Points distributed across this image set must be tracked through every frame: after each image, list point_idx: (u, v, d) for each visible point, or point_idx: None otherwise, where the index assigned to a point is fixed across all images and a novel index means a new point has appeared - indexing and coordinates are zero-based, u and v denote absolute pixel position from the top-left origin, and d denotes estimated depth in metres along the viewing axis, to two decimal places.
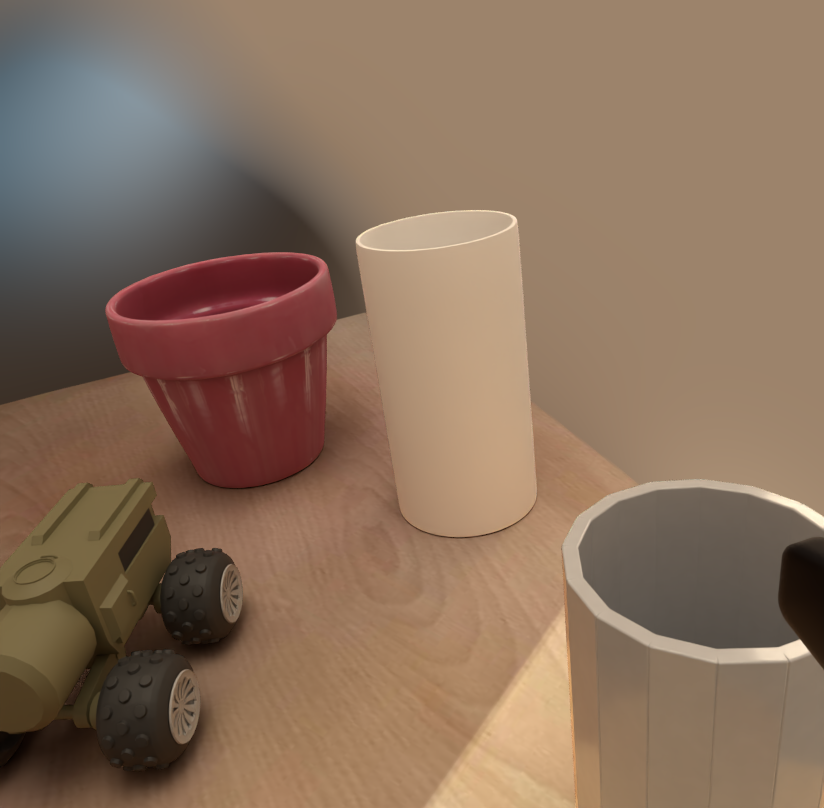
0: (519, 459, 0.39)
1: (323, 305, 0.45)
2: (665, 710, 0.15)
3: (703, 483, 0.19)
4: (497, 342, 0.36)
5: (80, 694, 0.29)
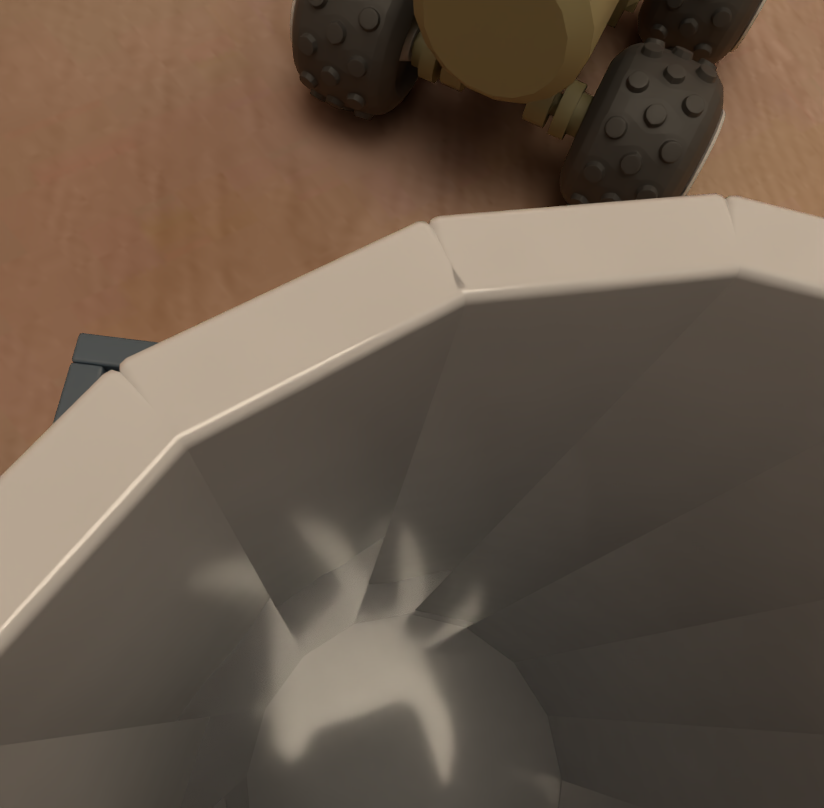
0: None
1: None
2: None
3: (752, 241, 0.03)
4: None
5: None
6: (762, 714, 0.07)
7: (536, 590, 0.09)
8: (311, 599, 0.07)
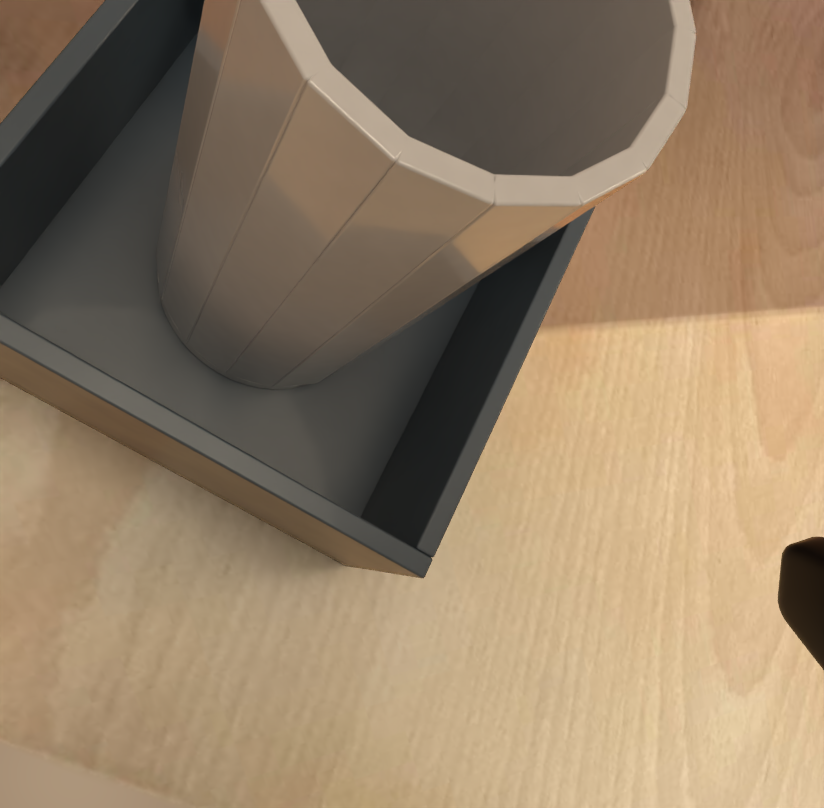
0: None
1: None
2: (294, 168, 0.09)
3: None
4: None
5: None
6: (504, 166, 0.14)
7: (421, 129, 0.17)
8: (326, 20, 0.14)
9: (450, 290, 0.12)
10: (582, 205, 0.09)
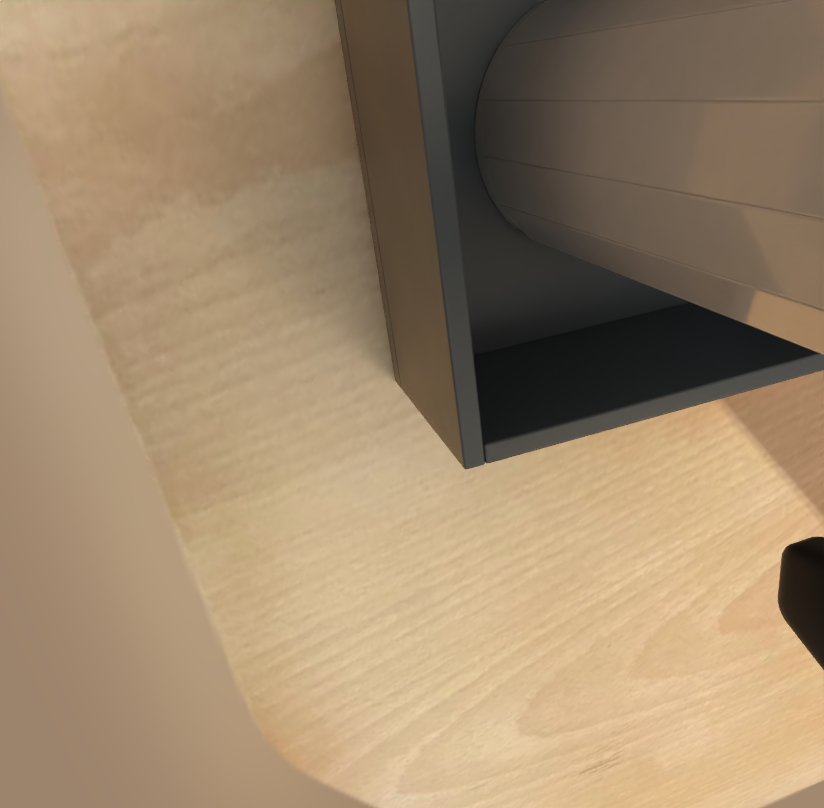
0: None
1: None
2: None
3: None
4: None
5: None
6: None
7: None
8: None
9: (774, 332, 0.11)
10: None
